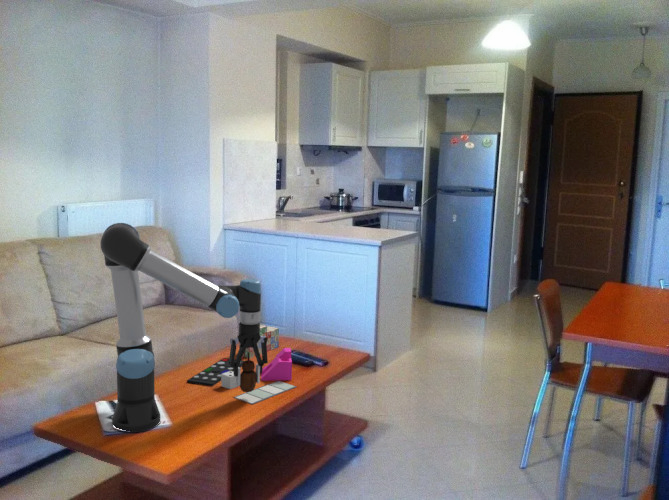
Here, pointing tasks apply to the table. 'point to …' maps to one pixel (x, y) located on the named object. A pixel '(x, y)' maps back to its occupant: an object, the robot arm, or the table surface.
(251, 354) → the stack of blocks
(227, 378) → the die
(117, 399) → the robot arm
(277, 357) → the bracket
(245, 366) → the wooden figurine
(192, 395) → the table surface
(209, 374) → the remote control
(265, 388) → the game mat
